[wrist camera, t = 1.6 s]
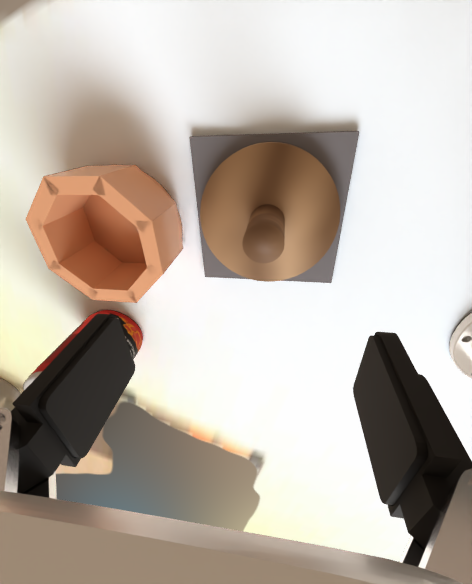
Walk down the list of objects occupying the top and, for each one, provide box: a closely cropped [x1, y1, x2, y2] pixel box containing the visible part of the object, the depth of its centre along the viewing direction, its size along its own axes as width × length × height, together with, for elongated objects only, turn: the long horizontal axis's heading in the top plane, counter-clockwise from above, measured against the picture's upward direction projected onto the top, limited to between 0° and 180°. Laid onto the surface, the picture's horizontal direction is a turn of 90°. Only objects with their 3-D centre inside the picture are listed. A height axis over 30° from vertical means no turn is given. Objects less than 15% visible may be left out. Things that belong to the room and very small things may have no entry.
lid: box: [200, 142, 340, 281], centre depth 22 cm, size 12×12×6 cm
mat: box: [190, 131, 359, 283], centre depth 24 cm, size 13×13×1 cm
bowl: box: [26, 164, 183, 303], centre depth 25 cm, size 11×11×6 cm
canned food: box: [23, 310, 143, 390], centre depth 32 cm, size 8×8×11 cm
